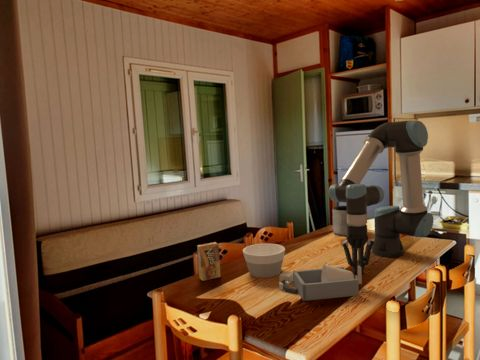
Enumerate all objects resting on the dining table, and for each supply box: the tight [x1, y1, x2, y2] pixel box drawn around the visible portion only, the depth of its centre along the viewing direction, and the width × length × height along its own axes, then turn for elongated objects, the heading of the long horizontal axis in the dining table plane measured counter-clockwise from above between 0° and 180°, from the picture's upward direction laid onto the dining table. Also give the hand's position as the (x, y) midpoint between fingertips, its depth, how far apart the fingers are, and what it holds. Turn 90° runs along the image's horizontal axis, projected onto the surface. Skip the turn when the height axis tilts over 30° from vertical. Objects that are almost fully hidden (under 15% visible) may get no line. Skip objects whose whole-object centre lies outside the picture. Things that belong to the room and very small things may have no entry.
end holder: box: [292, 266, 360, 302], centre depth 151 cm, size 21×15×6 cm
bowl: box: [242, 243, 286, 279], centre depth 175 cm, size 19×19×11 cm
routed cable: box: [281, 280, 298, 294], centre depth 156 cm, size 5×13×1 cm, turn 6°
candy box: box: [196, 241, 221, 281], centre depth 171 cm, size 9×4×15 cm, turn 116°
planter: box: [331, 205, 348, 237], centre depth 234 cm, size 16×16×16 cm
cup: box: [321, 263, 355, 282], centre depth 152 cm, size 10×10×11 cm
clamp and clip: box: [278, 271, 293, 291], centre depth 160 cm, size 8×12×3 cm, turn 6°
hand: (358, 282), depth 153 cm, fingers closed
